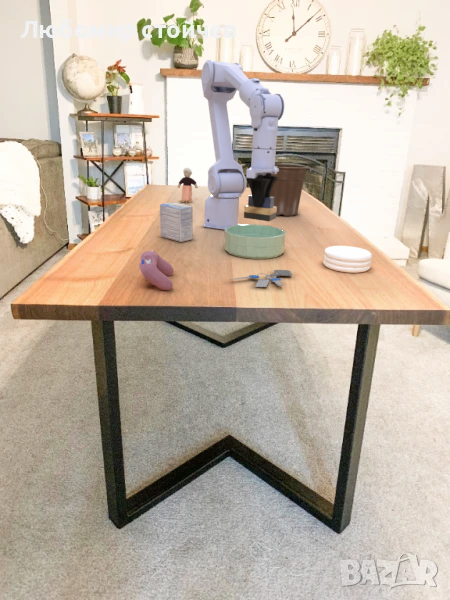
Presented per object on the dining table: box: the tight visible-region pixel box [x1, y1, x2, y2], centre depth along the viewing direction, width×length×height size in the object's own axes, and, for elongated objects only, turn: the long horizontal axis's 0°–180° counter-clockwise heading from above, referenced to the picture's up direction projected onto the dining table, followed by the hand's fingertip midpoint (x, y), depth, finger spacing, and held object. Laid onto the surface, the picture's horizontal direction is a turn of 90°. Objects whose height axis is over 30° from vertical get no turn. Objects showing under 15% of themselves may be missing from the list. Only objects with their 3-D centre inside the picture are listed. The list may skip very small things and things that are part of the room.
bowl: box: [223, 223, 287, 260], centre depth 105 cm, size 14×14×5 cm
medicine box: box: [159, 202, 194, 243], centre depth 113 cm, size 8×4×9 cm, turn 47°
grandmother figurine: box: [177, 167, 199, 204], centre depth 168 cm, size 8×4×13 cm, turn 95°
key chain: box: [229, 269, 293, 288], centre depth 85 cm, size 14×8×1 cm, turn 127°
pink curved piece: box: [138, 249, 175, 291], centre depth 81 cm, size 10×5×7 cm, turn 5°
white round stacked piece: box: [322, 245, 373, 274], centre depth 96 cm, size 10×10×4 cm
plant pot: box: [269, 163, 309, 217], centre depth 151 cm, size 16×16×16 cm
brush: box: [243, 194, 277, 222], centre depth 111 cm, size 7×4×6 cm, turn 62°
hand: (260, 205), depth 111 cm, fingers closed on brush, 2 cm apart
